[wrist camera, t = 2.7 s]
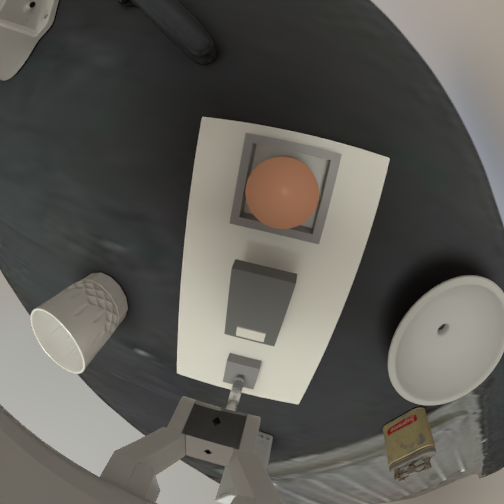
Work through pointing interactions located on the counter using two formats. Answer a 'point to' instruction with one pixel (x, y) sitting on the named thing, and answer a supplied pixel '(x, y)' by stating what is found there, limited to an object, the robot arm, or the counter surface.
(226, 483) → the skincare box
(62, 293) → the white cup
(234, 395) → the toggle lever
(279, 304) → the block
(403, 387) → the dish
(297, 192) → the push button
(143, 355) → the counter surface
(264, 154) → the switch panel
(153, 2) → the can opener
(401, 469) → the lighter
